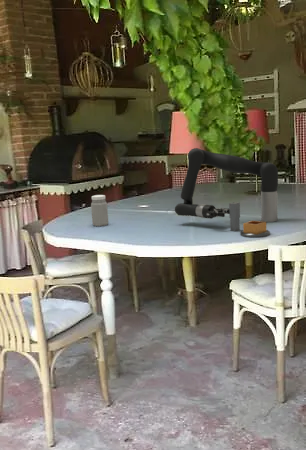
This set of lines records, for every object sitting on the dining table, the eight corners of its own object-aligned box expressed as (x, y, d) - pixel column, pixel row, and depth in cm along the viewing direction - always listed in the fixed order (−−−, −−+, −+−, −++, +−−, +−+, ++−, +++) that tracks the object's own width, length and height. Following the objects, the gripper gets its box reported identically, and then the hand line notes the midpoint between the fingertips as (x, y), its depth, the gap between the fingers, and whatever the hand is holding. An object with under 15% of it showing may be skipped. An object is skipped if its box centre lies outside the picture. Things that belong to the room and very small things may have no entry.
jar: (98, 223, 331) (96, 194, 327) (111, 223, 326) (109, 194, 323) (89, 226, 322) (87, 197, 319) (103, 226, 318) (100, 197, 314)
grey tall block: (229, 230, 286) (229, 203, 284) (234, 229, 289) (233, 202, 286) (236, 231, 284) (235, 203, 281) (240, 230, 287) (239, 202, 284)
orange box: (234, 235, 274) (234, 223, 273) (250, 230, 285) (250, 218, 284) (259, 238, 264) (259, 226, 263) (275, 233, 274) (275, 221, 273)
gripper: (197, 206, 293) (220, 208, 282) (213, 202, 303) (236, 204, 292) (197, 220, 294) (221, 222, 283) (213, 215, 304) (237, 218, 293)
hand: (229, 213), depth 287 cm, fingers open, 8 cm apart
